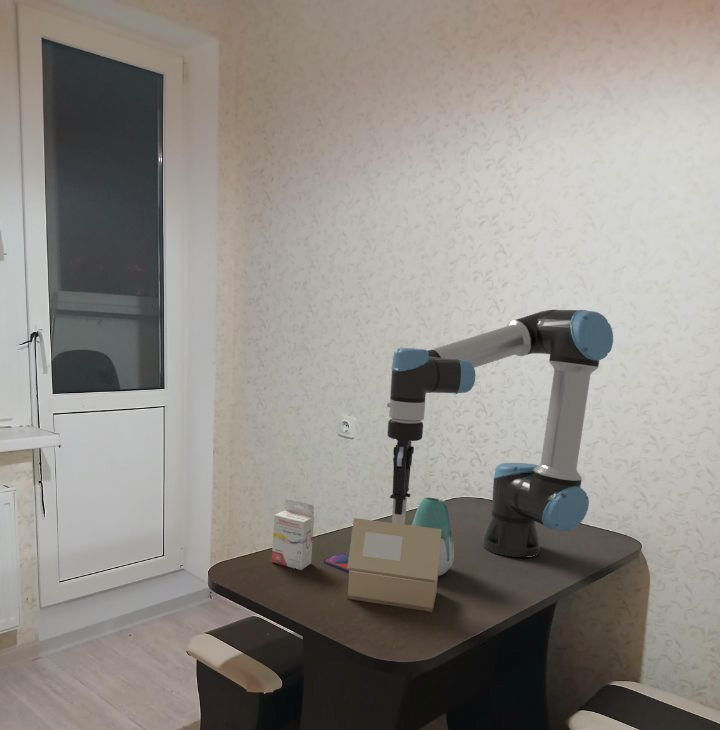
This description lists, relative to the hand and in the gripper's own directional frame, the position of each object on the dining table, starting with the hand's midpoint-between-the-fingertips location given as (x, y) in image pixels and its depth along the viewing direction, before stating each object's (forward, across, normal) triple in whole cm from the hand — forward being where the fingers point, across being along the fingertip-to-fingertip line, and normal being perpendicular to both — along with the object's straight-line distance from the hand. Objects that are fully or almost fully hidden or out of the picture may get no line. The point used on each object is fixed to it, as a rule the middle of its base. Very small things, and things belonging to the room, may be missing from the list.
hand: (398, 527), depth 137 cm
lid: (+3, +5, 0) cm, 6 cm away
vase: (+15, -14, +6) cm, 22 cm away
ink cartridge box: (+15, -7, -26) cm, 31 cm away
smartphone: (+15, -10, -11) cm, 21 cm away
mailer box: (+15, +2, 0) cm, 15 cm away
